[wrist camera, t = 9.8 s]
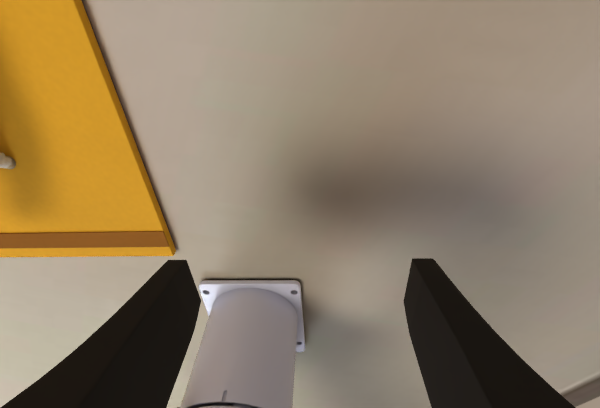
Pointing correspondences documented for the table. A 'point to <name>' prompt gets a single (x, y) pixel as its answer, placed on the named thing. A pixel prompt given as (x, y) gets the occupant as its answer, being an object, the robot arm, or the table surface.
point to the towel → (68, 144)
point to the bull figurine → (7, 161)
